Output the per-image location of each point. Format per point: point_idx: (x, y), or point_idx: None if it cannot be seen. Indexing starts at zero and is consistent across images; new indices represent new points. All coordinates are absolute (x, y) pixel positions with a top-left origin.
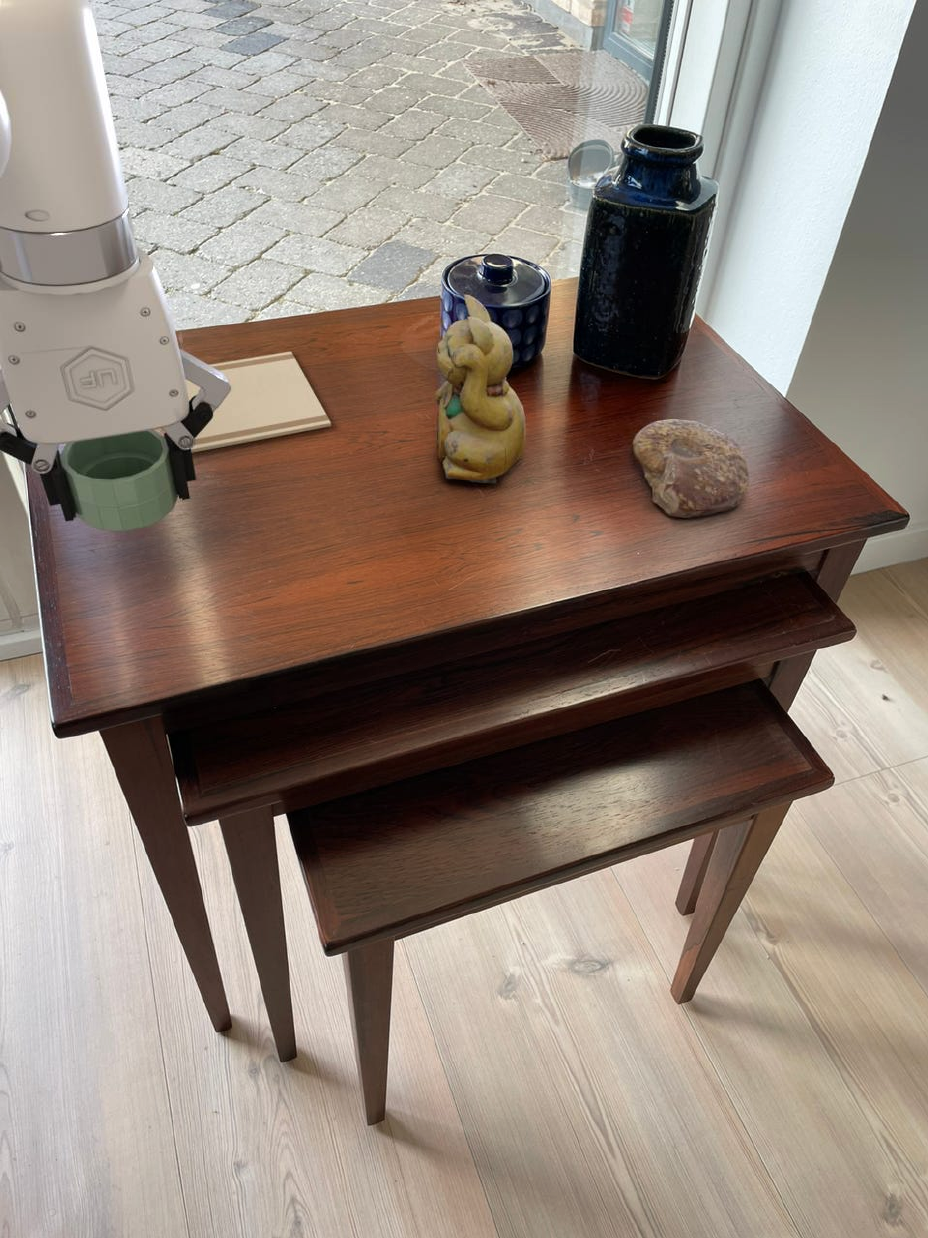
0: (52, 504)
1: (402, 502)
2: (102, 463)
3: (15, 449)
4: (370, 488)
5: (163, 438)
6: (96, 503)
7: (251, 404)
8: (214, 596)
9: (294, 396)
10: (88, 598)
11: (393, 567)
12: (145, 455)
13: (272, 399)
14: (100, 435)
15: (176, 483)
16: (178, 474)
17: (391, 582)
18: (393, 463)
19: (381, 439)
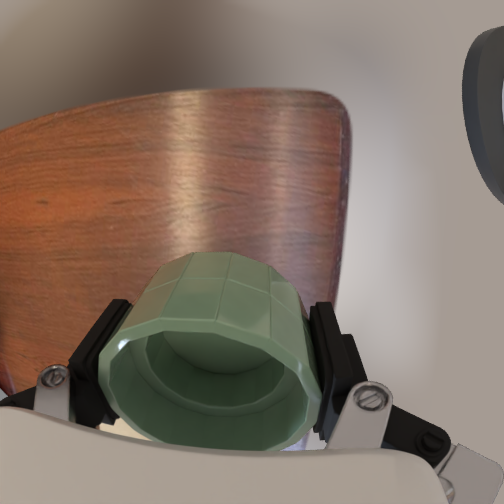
0: (346, 334)
1: (13, 292)
2: (244, 401)
3: (418, 433)
4: (35, 318)
5: (114, 409)
6: (269, 299)
7: (132, 432)
8: (169, 222)
9: (101, 426)
10: (303, 262)
11: (16, 213)
12: (171, 397)
13: (117, 430)
14: (191, 456)
15: (118, 322)
16: (102, 331)
17: (18, 193)
18: (25, 337)
19: (37, 364)
